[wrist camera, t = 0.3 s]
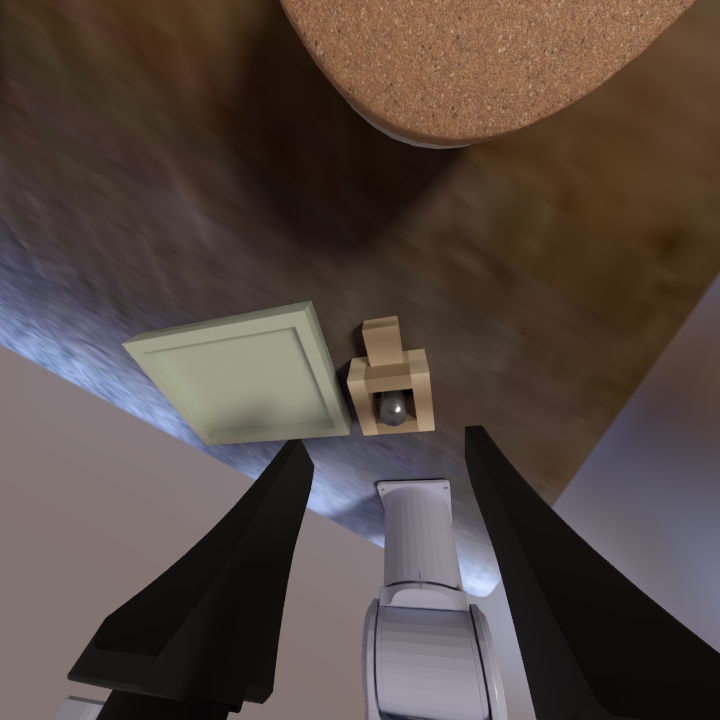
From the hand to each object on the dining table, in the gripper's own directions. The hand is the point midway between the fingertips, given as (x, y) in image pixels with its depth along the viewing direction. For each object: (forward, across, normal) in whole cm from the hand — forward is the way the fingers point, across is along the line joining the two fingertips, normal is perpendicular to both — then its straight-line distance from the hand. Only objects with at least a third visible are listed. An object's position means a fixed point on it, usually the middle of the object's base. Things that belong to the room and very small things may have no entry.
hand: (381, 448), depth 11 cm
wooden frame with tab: (+9, 0, +2) cm, 10 cm away
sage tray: (+10, +12, +2) cm, 15 cm away
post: (+10, 0, +4) cm, 10 cm away
